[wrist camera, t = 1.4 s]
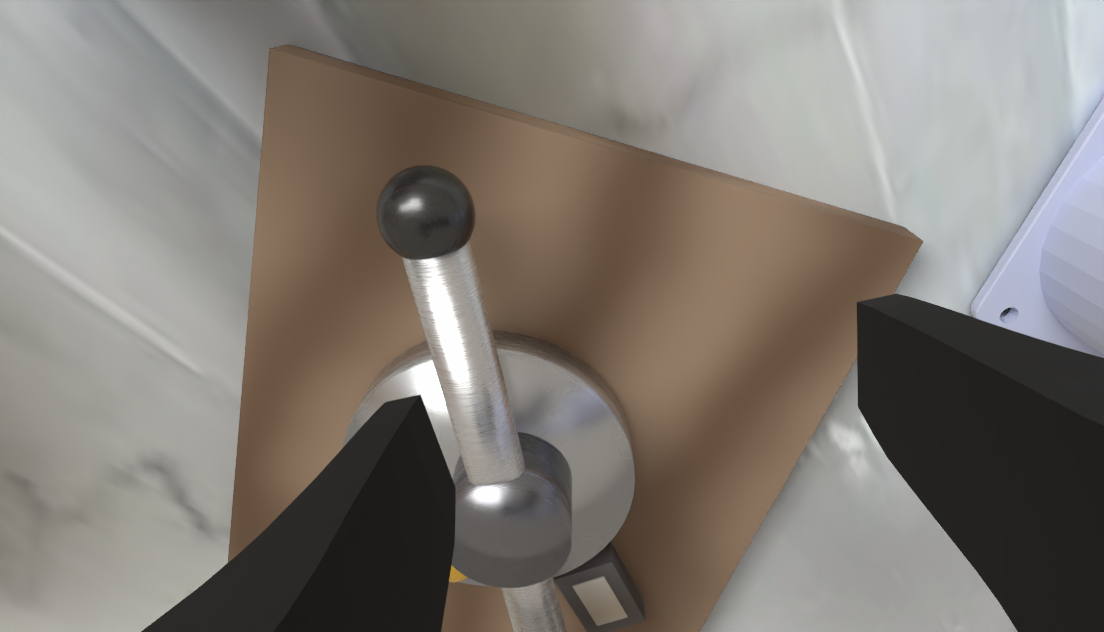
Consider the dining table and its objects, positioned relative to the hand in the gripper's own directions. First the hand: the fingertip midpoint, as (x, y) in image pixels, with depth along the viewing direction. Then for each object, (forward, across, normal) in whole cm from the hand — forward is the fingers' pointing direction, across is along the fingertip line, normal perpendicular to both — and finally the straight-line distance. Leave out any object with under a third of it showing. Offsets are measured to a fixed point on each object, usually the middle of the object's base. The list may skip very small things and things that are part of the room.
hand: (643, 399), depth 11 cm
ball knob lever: (+8, +5, +7) cm, 12 cm away
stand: (+10, +4, +7) cm, 12 cm away
